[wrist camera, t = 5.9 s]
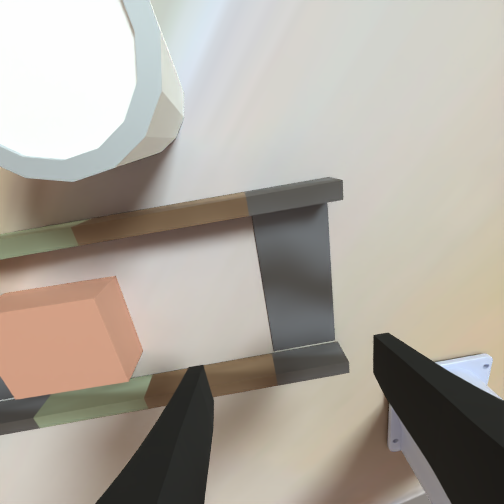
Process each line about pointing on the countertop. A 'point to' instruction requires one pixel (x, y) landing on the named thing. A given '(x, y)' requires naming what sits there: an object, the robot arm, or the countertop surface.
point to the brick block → (66, 338)
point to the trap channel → (275, 288)
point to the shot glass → (83, 87)
